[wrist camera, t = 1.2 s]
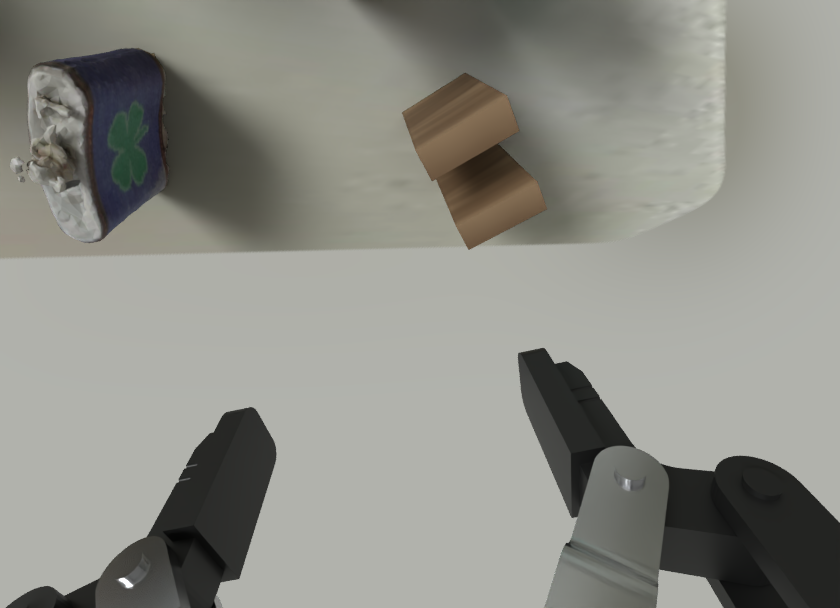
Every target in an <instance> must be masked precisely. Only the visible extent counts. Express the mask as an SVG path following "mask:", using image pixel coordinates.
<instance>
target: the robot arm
mask: <svg viewBox="0 0 840 608" xmlns="http://www.w3.org/2000/svg"><path fill="white" fill-rule="evenodd" d="M518 363H519V372H520V383H521V393H522V398H523V403H524V406H525V409H526V412H527V415H528V417H529V419H530V421H531V424H532V426H533V429H534V431H535V433H536V436H537V438H538V440H539V442H540V445H541V447H542V450H543V452H544V454H545V457H546V459H547V461H548V464H549V466H550V468H551V471H552V473H553V475H554V478H555V480H556V482H557V485H558V487H559V489H560V492H561V494H562V496H563V499H564V501H565V503H566V506H567V508H568V510H569V513H570V515H571V517H572V518H574V517H577V521H576V524H575V528H574V531H573V534H572V538H571V540H570V542H569V543H566V544H565V546H564V548H563V550H562V552H561V555H560V558H559V562H558V565H557V568H556V571H555V574H554V578H553V581H552V584H551V588H550V591H549V594H548V598H547V601H546V604H545V607H544V608H656V604H657V594H658V574H659V569H660V570H665V571H671V572H677V573H683V574H688V575H694V576H700V577H705V578H706V579H707V580H708V582H709V584H710V585H711V587H712V589H713V591H714V592H715V594H716V595H717V597H718V599H719V601H720V602H721V604H722V606H723V607H724V608H840V523H839V522H838V521H837V520H836V519H835V518H834V517H833V515H831V514H830V512H829V511H828V510H827V509H826V508H825V507H824V506H823V505H822V504H821V503H820V502H819V501H818V500H817V499H816V498H815V497H814V496H813V495H812V494H811V493H810V492H809V491H808V490H807V489H806V488H805V487H804V486H803V485H802V484H801V483H800V482H799V481H798V480H797V479H796V478H795V477H794V476H792V475H791V474H790V473H789V472H787V471H785V470H784V469H782V468H781V467H779V466H777V465H775V464H773V463H770V462H768V461H765V460H762V459H758V458H755V457H749V456H733V457H728V458H726V459H724V460H722V461H721V462H720V463H719V464H718V465H717V467H716V469H715V472H713V471H702V470H692V469H682V468H675V467H670V466H666V465H663V464H660V463H659V462H658V461H657V460H656V459H655V458H654V457H652V456H651V455H649V454H648V453H646V452H644V451H642V450H639V449H636V448H635V447H634V445H633V444H632V443H631V441H630V440H629V438H628V437H627V436H626V434H625V433H624V431H623V430H622V429H621V427H620V426H619V424H618V423H617V421H616V420H615V418H614V417H613V415H612V414H611V412H610V411H609V410H608V408H607V407H606V405H605V404H604V403H603V401H602V400H600V397H599V395H598V394H597V392H596V391H595V389H594V388H592V385H591V383H590V382H589V381H588V379H587V378H586V376H585V375H584V373H583V372H582V371H581V370H579V369H578V368H576V367H574V366H573V365H572V364H570V363H569V362H562V363H557V364H554V362H553V361H552V359H551V357H550V356H549V354H548V352H547V351H546V349H545V348H540V349H535V350H531V351H526V352H521V353H518ZM275 461H276V447H275V443H274V441H273V439H272V437H271V435H270V433H269V432H268V430H267V428H266V426H265V425H264V423H263V421H262V419H261V418H260V416H259V414H258V412H257V411H256V410H255V409H254V408H252V407H249V408H244V409H240V410H235V411H230V412H226V413H225V414H224V415H223V416H222V418H221V420H220V421H219V423H218V425H217V427H216V429H215V431H214V433H210V434H209V435H208V436H207V437H206V438H205V439H204V440H203V441H202V442H201V444H199V446H198V447H197V448H196V449H195V450H194V452H193V454H192V456H191V458H190V460H189V461H188V463H187V465H186V467H187V468H186V469H184V470H183V472H182V474H181V476H180V478H179V483H176V485H175V487H174V489H173V490H172V492H171V494H170V496H169V498H168V500H167V501H166V503H165V505H164V507H163V509H162V510H161V512H160V514H159V516H158V518H157V520H156V521H155V524H154V525H153V527H152V529H151V531H150V532H149V534H148V536H147V537H146V538H143V539H141V540H138V541H137V542H135V543H133V544H131V545H130V546H128V547H127V548H126V549H124V550H123V551H122V552H121V553H120V554H118V555H117V556H116V557H115V558H114V559H113V560H112V562H111V563H110V564H109V565H108V566H107V568H106V569H105V571H104V572H103V574H102V575H101V577H100V579H98V580H96V581H94V582H92V583H90V584H88V585H85V586H83V587H81V588H79V589H77V590H75V591H73V592H71V593H69V594H67V595H65V596H63V595H62V594H61V593H59V592H58V591H57V590H55V589H54V588H52V587H50V586H44V587H40V588H36V589H34V590H31V591H29V592H27V593H26V594H24V595H22V596H21V597H19V598H18V599H16V600H15V601H13V602H12V603H11V604H10V605H8V606H7V607H6V608H223V607H222V604H221V602H220V600H219V598H218V597H217V596H216V594H217V591H218V588H219V585H220V582H225V581H230V580H236V579H239V578H240V575H241V571H242V568H243V565H244V562H245V558H246V555H247V552H248V549H249V545H250V542H251V539H252V536H253V533H254V530H255V526H256V523H257V520H258V517H259V513H260V510H261V507H262V503H263V501H264V497H265V494H266V491H267V488H268V484H269V481H270V478H271V475H272V471H273V468H274V465H275Z"/></svg>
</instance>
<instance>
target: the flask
mask: <svg viewBox="0 0 840 608" xmlns="http://www.w3.org/2000/svg"><path fill="white" fill-rule="evenodd" d="M165 77H166V73H165V71H164V70H163V67H162V66H161V64H160V62H159V61H158V60H157V59H156V57H155V54H154V53H152V54H150V53H148V52H145V51H144V50H141V49H139V48H136V49H134V48H131V49H126V48H125V49H119V50H115V51H110V52H106V53H101V54H95V55H89V56H82V57H73V58H66V59H57V60H53V61H48V62H44V63H39V64H37V65H35V66H34V67H33V68H32V70H31V72H30V74H29V76H28V102H27V118H28V131H29V140H30V144H31V146H30V152H31V155H32V156H33V157H32V158H31V159H32V160H31V161H29V162H28V164H27V167H28V168H29V169H28V170H26V171H27V173H28V175H29V177H30V178H31V180H32V181H33V182H35V183H38V184H41V186H42V188H43V191H44V193H45V195H46V197H47V200H48V203H49V206H50V208H51V211H52V214H53V215H54V217H55V218H56V221H57V224H58V226H59V227H60V228H61V230H62V231H63V232H64V233H65V234H67V235H69V236H70V237H72V238H74V239H76V240H79V241H81V242H84V243H92V242H98V241H101V240H102V239H104V238H105V237H106V235H108V233H109V232H111V231H112V230H113V229H114V228H115V227H116V226H117V225H118V224H120V223H121V222H122V221H124V220H125V219H126V218H127V217H128V216H129V215H130V214H131V213H133V212H134V211H136V210H137V209H138V208H139V207H140V206H141V205H143V204H144V203H145V202H147V201H148V200H150V199H151V198H152V197H153V196H155V195H157V194H158V193H159V192H160V191H162V190H163V189H164V188H165V187H166V186H167V180H168V174H169V171H170V170H169V166H167V165H166V164H167V163H166V151H167V150H166V148H168V144H167V141H168V140H169V139H168V137H167V133H168V132H167V131H166V128H164V127H165V125H164V124H163V122H162V120H163V119H162V118H163V115H164V114H167V113H166V112H165V109H164V107H163V98H164V95H166V94H165V85H166V84H165ZM22 164H24V161H22V160H21V159H20V158H19V157H15V158H13V159H12V160H11V163H10V168H11V170H13V171H14V172H15V173H16V174H18V173H20V172H22V171H23V170H22ZM18 179H19V181H20V182H24V181H25V179H24V177H23V176H18Z"/></svg>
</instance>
